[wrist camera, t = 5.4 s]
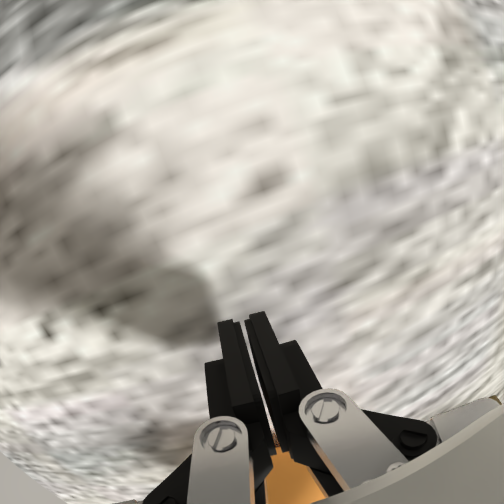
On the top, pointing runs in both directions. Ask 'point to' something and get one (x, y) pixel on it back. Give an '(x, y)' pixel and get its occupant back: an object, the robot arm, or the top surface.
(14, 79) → the top surface
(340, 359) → the top surface
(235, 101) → the top surface
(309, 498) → the ball
